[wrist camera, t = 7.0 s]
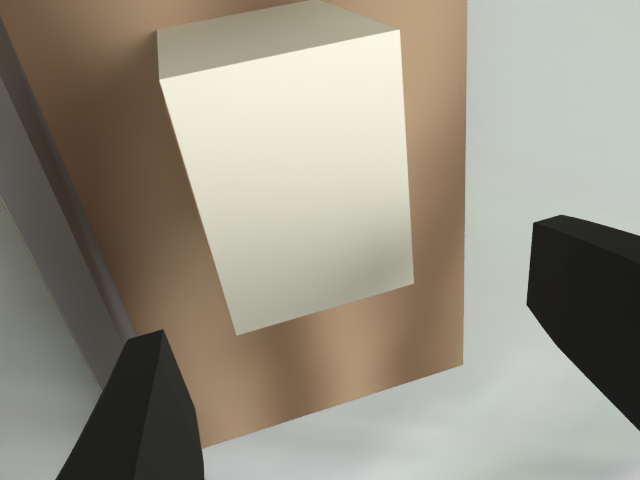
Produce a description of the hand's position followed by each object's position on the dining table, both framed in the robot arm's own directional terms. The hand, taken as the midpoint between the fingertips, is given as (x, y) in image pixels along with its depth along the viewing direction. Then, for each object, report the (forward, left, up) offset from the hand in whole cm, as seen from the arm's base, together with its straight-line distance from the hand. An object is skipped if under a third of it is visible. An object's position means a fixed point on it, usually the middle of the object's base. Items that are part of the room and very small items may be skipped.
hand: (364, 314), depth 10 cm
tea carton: (0, +1, -8) cm, 8 cm away
